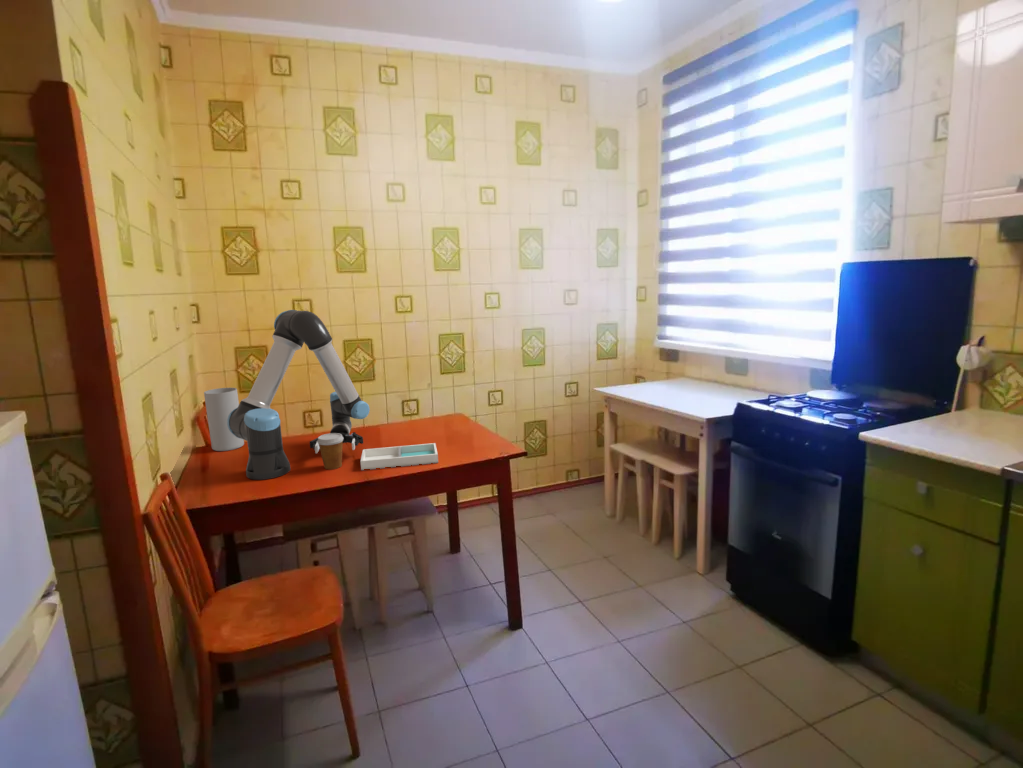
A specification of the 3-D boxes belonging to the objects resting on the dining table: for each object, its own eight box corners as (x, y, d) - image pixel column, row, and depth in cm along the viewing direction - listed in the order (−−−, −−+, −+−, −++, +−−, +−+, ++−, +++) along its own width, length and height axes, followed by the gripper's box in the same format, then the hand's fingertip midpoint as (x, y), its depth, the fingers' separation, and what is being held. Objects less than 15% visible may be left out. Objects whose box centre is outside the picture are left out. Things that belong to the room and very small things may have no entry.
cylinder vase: (235, 451, 235) (227, 393, 230) (206, 452, 235) (197, 394, 231) (249, 442, 247) (242, 387, 242) (222, 443, 248) (214, 388, 243)
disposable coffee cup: (338, 471, 206) (335, 440, 204) (315, 470, 208) (311, 439, 206) (350, 463, 215) (347, 433, 213) (328, 462, 217) (325, 432, 215)
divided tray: (361, 470, 207) (360, 461, 206) (363, 457, 221) (362, 449, 220) (438, 462, 212) (437, 454, 211) (435, 451, 226) (435, 443, 225)
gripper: (371, 439, 237) (369, 454, 216) (309, 444, 232) (301, 460, 211) (369, 422, 235) (367, 435, 215) (307, 427, 230) (299, 441, 210)
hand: (334, 448), depth 213 cm, fingers open, 13 cm apart
